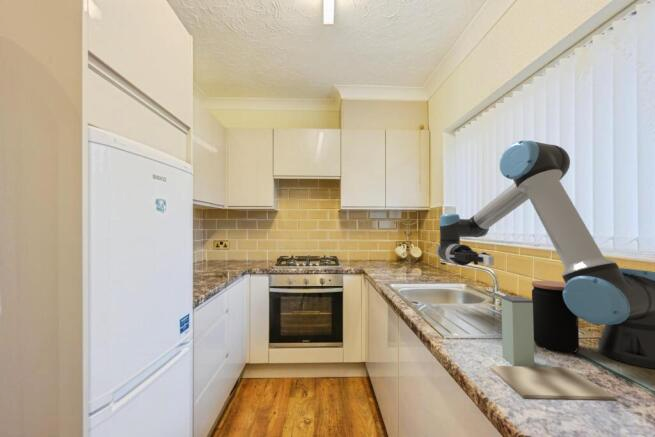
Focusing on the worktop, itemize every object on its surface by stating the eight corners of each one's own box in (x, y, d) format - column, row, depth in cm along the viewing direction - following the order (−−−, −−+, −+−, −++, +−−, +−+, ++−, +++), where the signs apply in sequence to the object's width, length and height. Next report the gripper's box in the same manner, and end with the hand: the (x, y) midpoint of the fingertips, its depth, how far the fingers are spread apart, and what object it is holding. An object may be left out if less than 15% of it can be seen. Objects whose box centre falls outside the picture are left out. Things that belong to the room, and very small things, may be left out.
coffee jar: (588, 355, 81) (586, 287, 82) (543, 352, 83) (542, 286, 84) (565, 341, 92) (564, 281, 92) (526, 338, 94) (525, 280, 94)
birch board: (566, 369, 73) (566, 367, 73) (615, 399, 60) (615, 396, 60) (489, 368, 73) (489, 365, 73) (522, 397, 60) (522, 394, 60)
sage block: (522, 358, 79) (520, 296, 80) (534, 366, 74) (532, 300, 75) (502, 357, 80) (501, 296, 80) (513, 366, 75) (512, 300, 75)
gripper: (477, 264, 114) (513, 273, 90) (441, 264, 114) (469, 273, 91) (476, 244, 114) (513, 248, 90) (441, 244, 114) (468, 248, 91)
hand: (491, 260), depth 90 cm, fingers closed
